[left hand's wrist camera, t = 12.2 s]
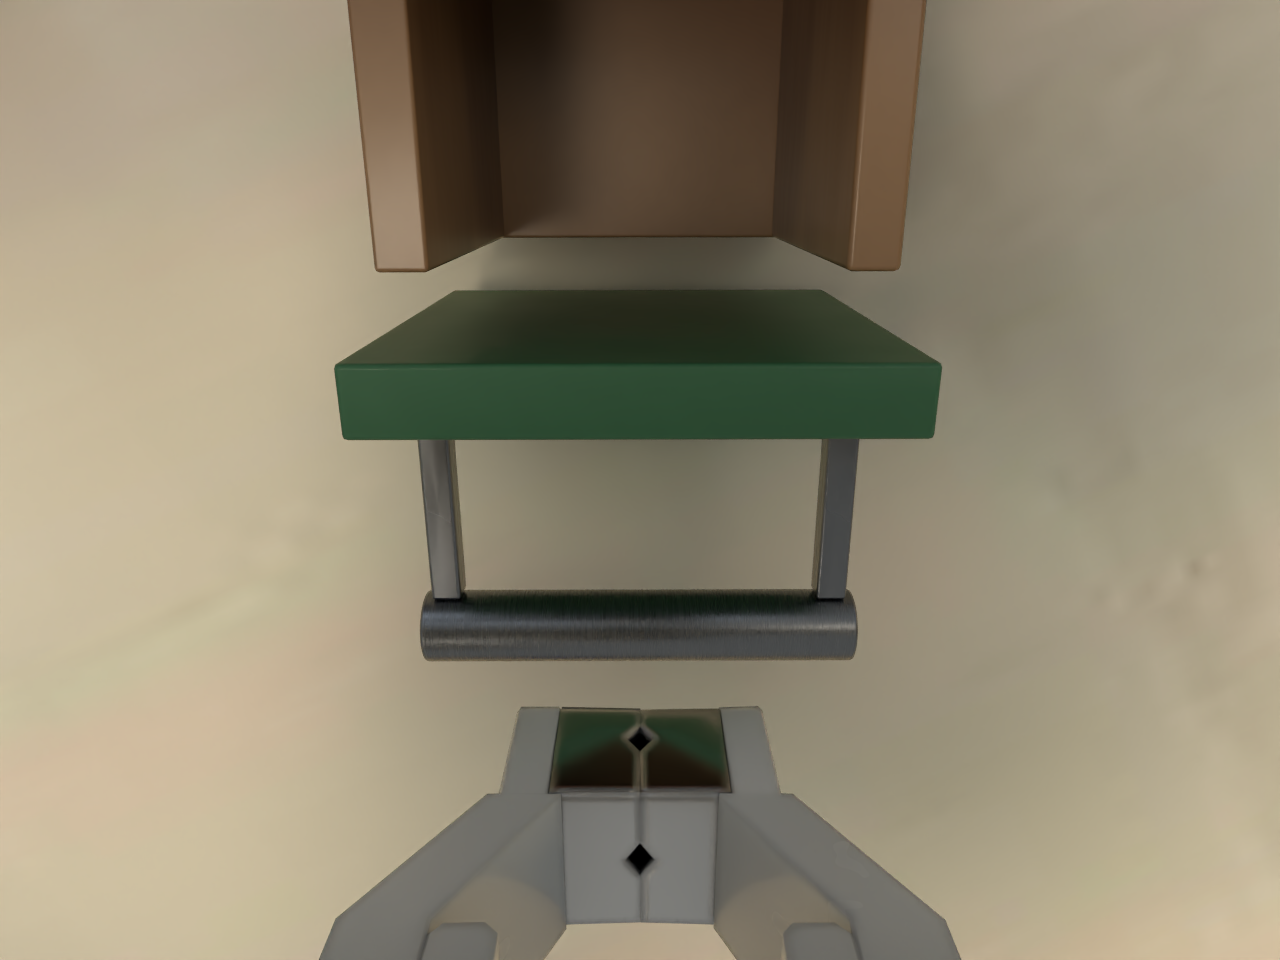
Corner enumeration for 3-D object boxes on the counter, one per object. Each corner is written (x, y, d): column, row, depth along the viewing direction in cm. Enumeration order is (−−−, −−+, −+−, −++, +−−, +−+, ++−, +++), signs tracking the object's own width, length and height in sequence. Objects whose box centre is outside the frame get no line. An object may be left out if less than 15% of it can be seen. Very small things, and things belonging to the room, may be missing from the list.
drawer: (805, 547, 23) (898, 751, 15) (472, 548, 23) (379, 753, 15) (863, -294, 17) (1076, -735, 9) (409, -293, 17) (195, -735, 9)
